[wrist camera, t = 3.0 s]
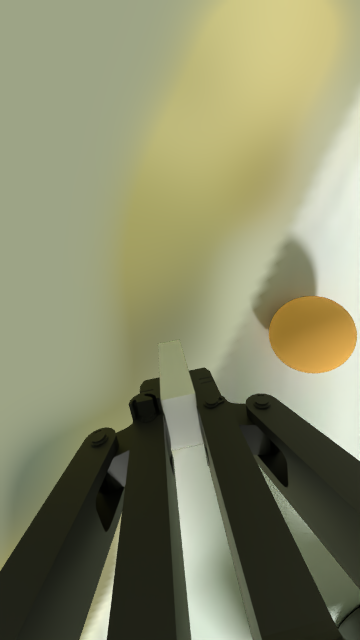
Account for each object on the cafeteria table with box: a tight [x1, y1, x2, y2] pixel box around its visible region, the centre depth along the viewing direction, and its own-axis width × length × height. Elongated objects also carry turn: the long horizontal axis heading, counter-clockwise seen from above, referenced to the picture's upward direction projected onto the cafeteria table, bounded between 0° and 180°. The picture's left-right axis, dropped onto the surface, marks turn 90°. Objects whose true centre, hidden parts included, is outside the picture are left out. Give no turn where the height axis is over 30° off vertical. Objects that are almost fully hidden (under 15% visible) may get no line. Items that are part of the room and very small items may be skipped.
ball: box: [269, 296, 357, 373], centre depth 17 cm, size 6×6×6 cm
